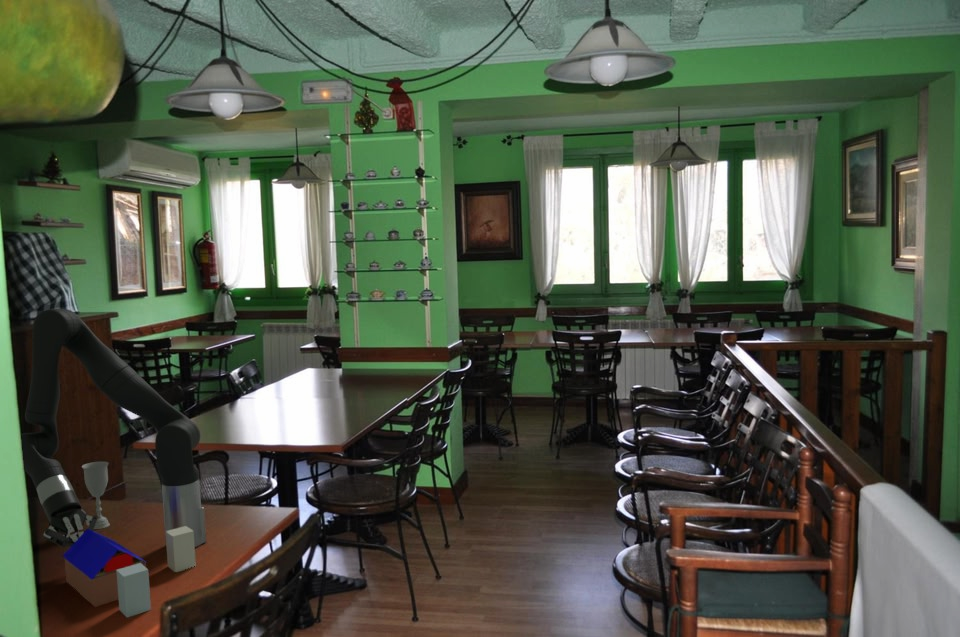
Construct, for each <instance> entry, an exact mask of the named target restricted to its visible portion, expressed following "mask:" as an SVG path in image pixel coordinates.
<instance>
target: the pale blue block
mask: <svg viewBox="0 0 960 637" xmlns="http://www.w3.org/2000/svg"><path fill="white" fill-rule="evenodd" d="M116 572H117V585H118V598H119V599H118V608H119V612H121V613H122V614H123V615H124V617H126V618H130V617H134V616H136V615H139V614H142V613H145V612H149V611H152V604H151V603H152V602H151V592H150V590H151V589H150V577H149V575H150V574H149V569H148V568H147V566H146V567H145V566H143V565H142V564H141V563H139V564H135V565H132V566H128V567H125V568H121V569H118V570H116Z"/></svg>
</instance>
